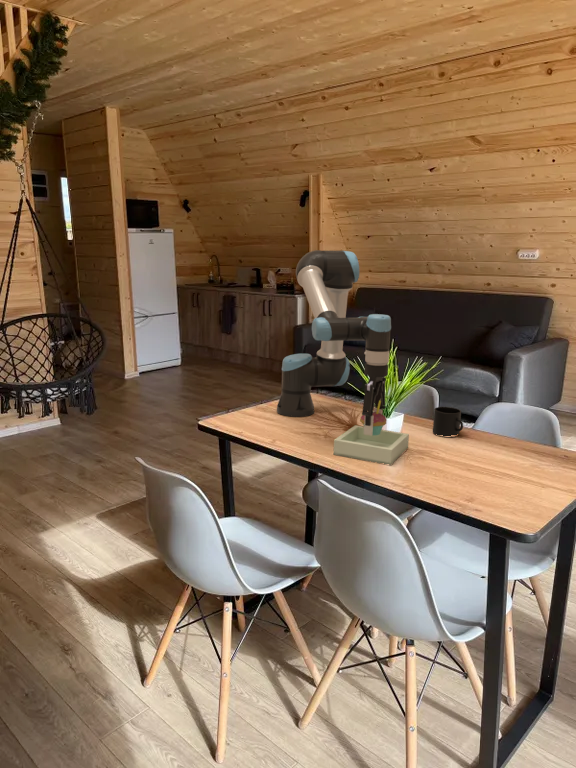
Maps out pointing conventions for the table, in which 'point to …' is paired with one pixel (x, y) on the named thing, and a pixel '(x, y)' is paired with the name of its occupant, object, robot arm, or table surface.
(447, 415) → the mug
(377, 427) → the cupcake
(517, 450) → the table surface
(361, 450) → the serving bin
